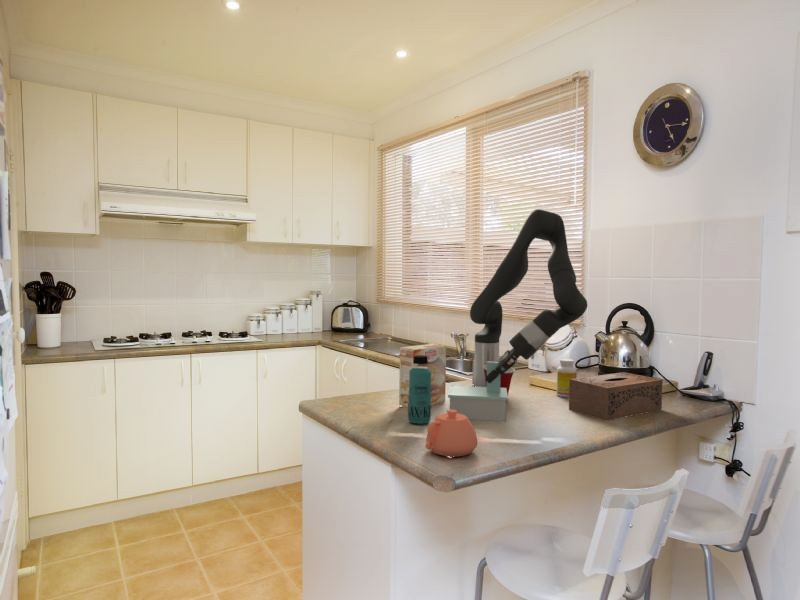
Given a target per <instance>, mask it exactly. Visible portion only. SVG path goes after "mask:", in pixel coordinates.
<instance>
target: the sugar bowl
mask: <svg viewBox="0 0 800 600" xmlns="http://www.w3.org/2000/svg"><path fill="white" fill-rule="evenodd" d="M426 428H427V429H426V430H427V431H426V432H427V434H426V439H425V440H426V441H425V448H426V449H427V450H430V451H432V452H433V453H434V454H437V455H440V456H444V457H447V456H450V457H453V456H455V457H462V456H467V455H469V454H471V453H472V452H473V451H475V450H476V448H477V446H478V436H477V432H476V429H475V428H474V426H473V424H472V422H471V421H470V420H469V419H468V418H467V417H466V416H465V415H462V414H458V413H457V411H456V410H450V409H447V411H446V412H444V413H440V414H437V416H436V417H434V420H433V421H431V422H429V424H428V425H427V427H426Z"/></svg>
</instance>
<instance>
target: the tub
mask: <svg viewBox="0 0 800 600" xmlns="http://www.w3.org/2000/svg"><path fill="white" fill-rule="evenodd" d="M506 408H507V401H506V400H487V399H466V398H449V410H456V411H457V413H458V414H462V415H465V416H466V417H467V418H468V419H469V421H470V420H471V421H489V422H491V421H492V422H506V415H507V414H506V413H507V411H506V410H507V409H506Z"/></svg>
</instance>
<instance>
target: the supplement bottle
mask: <svg viewBox="0 0 800 600" xmlns="http://www.w3.org/2000/svg"><path fill="white" fill-rule="evenodd" d="M559 364H560V365H559V366H558V367H557V368H556V396H558V397H560V398H565V399H566V398H567V399H569V384H570V379H575V378H577V371H578V370H577V369H576V367H575V366H574V364H575V360H574V359H570V358H562V359H559Z"/></svg>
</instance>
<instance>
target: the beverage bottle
mask: <svg viewBox="0 0 800 600" xmlns="http://www.w3.org/2000/svg"><path fill="white" fill-rule="evenodd" d="M413 363H414V364H427V363H428V358H427V356H425V355H416V356H414V360H413ZM408 393H409V396H408V400H409V404H408V407H407V408H408V409H407V415H408V416H407V419H408V421H409V422H410V423H413V424H426V423H430V421H431V416H432V405H431V371H430V369H429V368H427V367H413V368H412V369H411V370H410V371H409V392H408Z"/></svg>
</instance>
